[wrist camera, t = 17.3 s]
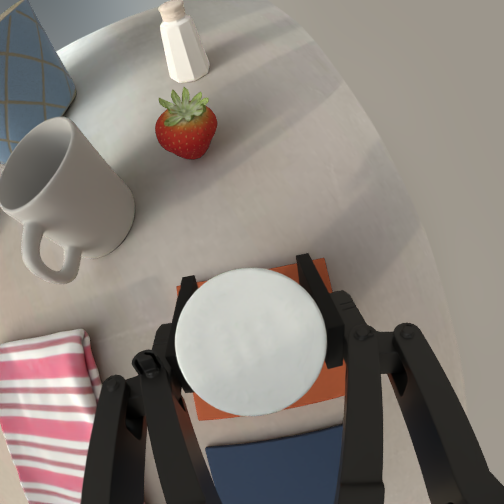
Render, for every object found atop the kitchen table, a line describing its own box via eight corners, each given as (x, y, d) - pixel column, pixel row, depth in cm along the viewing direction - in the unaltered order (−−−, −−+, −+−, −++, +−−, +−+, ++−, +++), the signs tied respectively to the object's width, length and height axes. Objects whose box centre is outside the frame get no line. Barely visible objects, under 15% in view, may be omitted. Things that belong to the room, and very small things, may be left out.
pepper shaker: (218, 62, 32) (204, -7, 21) (197, 86, 31) (176, 12, 20) (184, 58, 33) (165, -5, 22) (162, 81, 32) (136, 15, 21)
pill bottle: (218, 384, 19) (159, 425, 8) (219, 300, 21) (162, 254, 10) (306, 384, 19) (341, 428, 8) (304, 299, 21) (336, 250, 10)
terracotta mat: (323, 259, 23) (324, 257, 23) (351, 392, 20) (352, 393, 19) (178, 287, 23) (176, 286, 23) (200, 419, 20) (198, 420, 19)
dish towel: (52, 520, 15) (37, 529, 12) (-5, 346, 23) (-25, 343, 19) (170, 541, 16) (159, 559, 12) (94, 324, 23) (71, 320, 20)
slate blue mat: (355, 420, 19) (357, 421, 19) (365, 509, 16) (366, 512, 15) (206, 446, 19) (204, 448, 19) (230, 532, 16) (230, 535, 16)
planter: (-14, 160, 33) (-78, 102, 14) (46, 80, 37) (0, 13, 18) (24, 184, 29) (-69, 100, 10) (102, 80, 34) (49, -18, 15)
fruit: (233, 161, 27) (219, 101, 19) (182, 187, 26) (152, 133, 19) (211, 128, 28) (194, 70, 21) (165, 151, 28) (136, 98, 20)
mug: (76, 187, 28) (17, 131, 17) (141, 175, 27) (89, 101, 17) (59, 295, 24) (-24, 266, 13) (129, 296, 23) (44, 261, 13)
